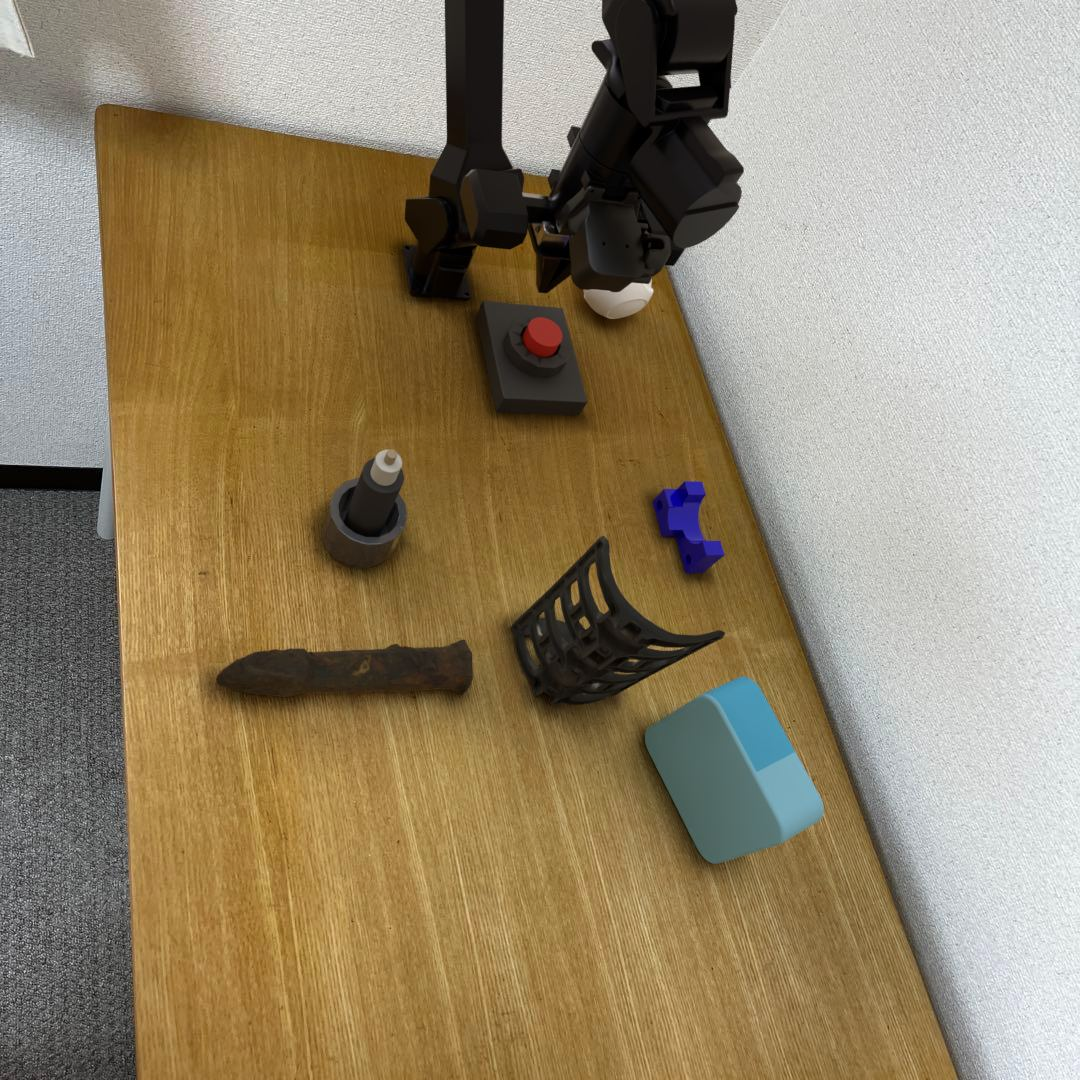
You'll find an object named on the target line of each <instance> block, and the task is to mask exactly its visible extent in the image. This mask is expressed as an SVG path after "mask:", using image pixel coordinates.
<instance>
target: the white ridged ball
mask: <svg viewBox="0 0 1080 1080" xmlns="http://www.w3.org/2000/svg"><path fill="white" fill-rule="evenodd" d="M652 284H653V279H652V278H651V282H650V283H649V284H641V283H631V284H630V285H628V286H627V287H626V288H624V289H623V290H622V291H620V292H611V291H606V290H594V289H591V290H583V289H582V291H583V298H584V300H585V302H586V303H587V305H588V306H589V307H590V309H592V310H593V311H594V312H595V313H597V314H598V315H600V316H603V317H604V318H607V319H610V320H617V319H622V318H626V317H629V316H632V315H634V314H636V313H638V312H640V311H641V310H643V309H644V308H645V307H647V305H648V303H649V301H650V300H651V298H652V297H653V294H654V288H653V287H652Z"/></svg>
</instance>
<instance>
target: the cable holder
mask: <svg viewBox="0 0 1080 1080" xmlns="http://www.w3.org/2000/svg"><path fill="white" fill-rule="evenodd" d="M706 496H707V493H706V489H705V486H704V483H703V481H699V480H698V481H696V480H695V481H692V480H691V481H688V480H684V481H683V482H682V483H681V484H680V486H678V487H677V488H663V490H661V491H660V492H659V494H658V495H657V496H655V498H654V499H653V500H652V502H651V503H652V505H653V509H654V512H655V516H656V520H657V522H658V527H659V530H660V534H661V537H662V538H675V540H676V545H677V547H678V552H679V554H680V557H681V561H682V564H683V568H684V572H685V574H704V573H706V572H707V571H708V570H709V569H710V568H711V567H712V566H714V565H715V564H716V563H717V562H718V561H720V560H721V559H722V558H724V557H725V552H724V548H723V545H722V541H721V540H706V539H705V537H704V535H703V533H702V531H701V528H700V521H699V519H700V517H699V514H700V508H701V506H702V505H701V504H702V502H703V500H704V498H705V497H706Z"/></svg>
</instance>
